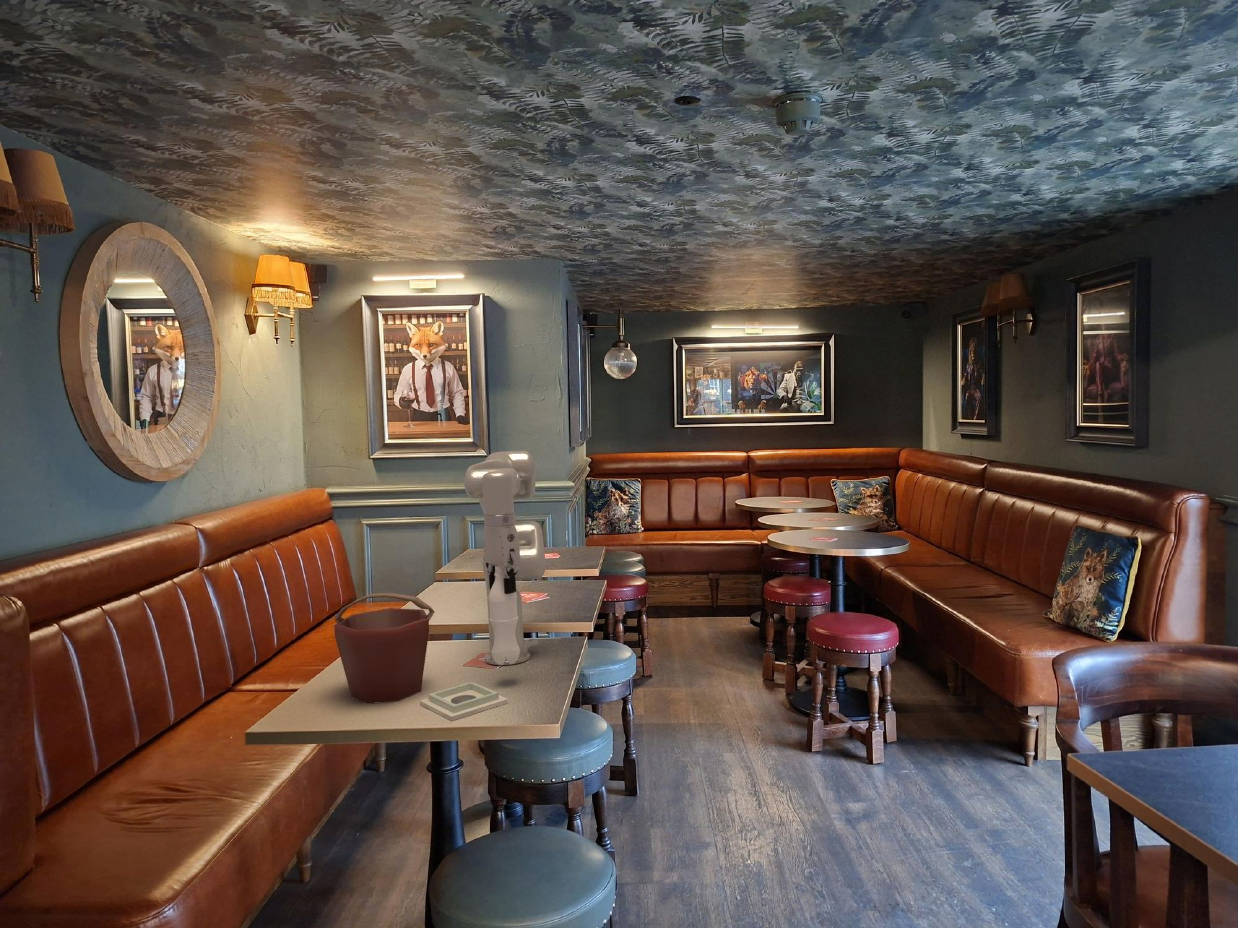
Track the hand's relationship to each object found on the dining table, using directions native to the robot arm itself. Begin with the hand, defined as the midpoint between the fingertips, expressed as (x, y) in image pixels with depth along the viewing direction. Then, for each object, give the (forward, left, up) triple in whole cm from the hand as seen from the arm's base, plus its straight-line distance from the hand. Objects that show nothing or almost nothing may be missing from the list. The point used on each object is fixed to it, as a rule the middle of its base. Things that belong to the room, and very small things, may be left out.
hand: (502, 590), depth 200 cm
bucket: (+24, -18, -24) cm, 39 cm away
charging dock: (+15, +4, -24) cm, 29 cm away
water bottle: (0, 0, -19) cm, 19 cm away
